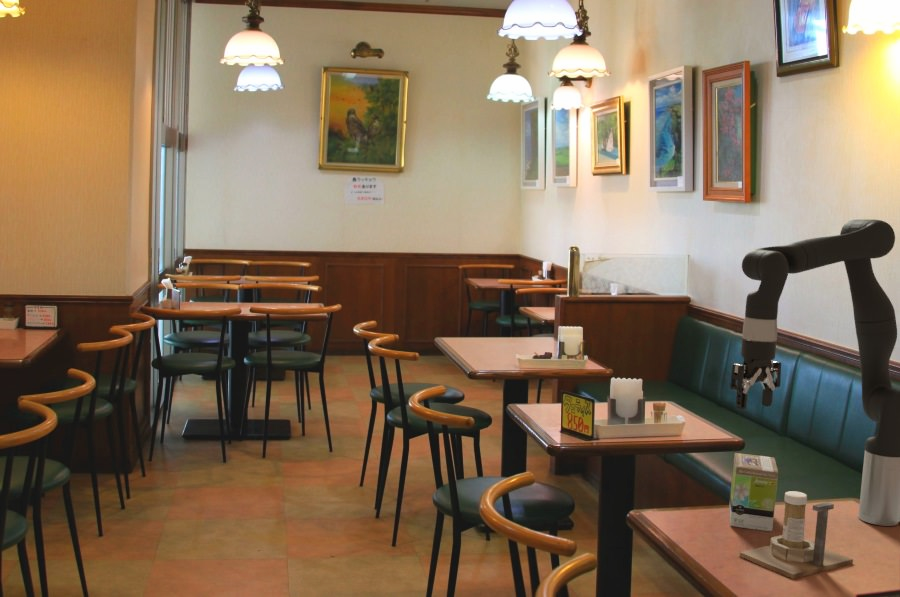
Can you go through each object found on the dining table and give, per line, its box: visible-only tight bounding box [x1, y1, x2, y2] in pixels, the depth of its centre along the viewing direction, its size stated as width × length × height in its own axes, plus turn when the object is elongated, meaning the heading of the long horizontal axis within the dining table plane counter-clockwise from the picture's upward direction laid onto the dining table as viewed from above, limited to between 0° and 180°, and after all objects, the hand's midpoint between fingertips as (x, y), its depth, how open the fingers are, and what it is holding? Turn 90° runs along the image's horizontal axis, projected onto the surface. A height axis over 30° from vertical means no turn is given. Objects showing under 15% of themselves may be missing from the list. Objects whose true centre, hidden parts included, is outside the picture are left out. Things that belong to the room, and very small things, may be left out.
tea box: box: [728, 452, 779, 532], centre depth 244 cm, size 15×10×15 cm, turn 166°
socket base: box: [739, 501, 854, 580], centre depth 218 cm, size 20×14×14 cm
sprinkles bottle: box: [782, 490, 808, 549], centre depth 219 cm, size 5×5×13 cm
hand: (753, 407), depth 231 cm, fingers open, 8 cm apart
